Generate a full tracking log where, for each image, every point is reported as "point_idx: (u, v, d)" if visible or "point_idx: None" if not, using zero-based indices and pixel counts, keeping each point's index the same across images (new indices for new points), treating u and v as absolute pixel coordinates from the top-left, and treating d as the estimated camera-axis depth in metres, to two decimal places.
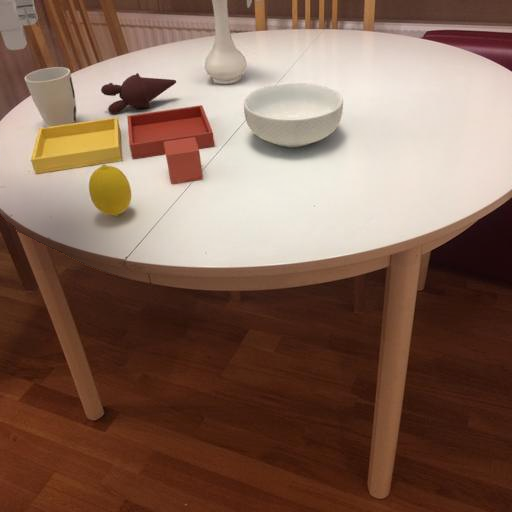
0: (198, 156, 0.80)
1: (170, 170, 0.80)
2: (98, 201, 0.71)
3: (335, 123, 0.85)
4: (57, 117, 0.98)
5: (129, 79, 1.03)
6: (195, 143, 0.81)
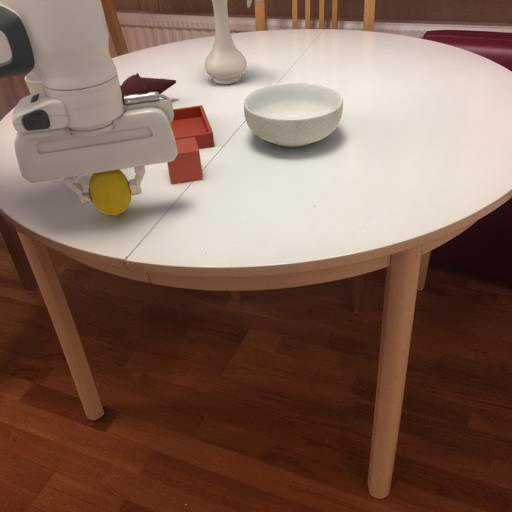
0: (198, 156, 0.80)
1: (170, 170, 0.80)
2: (98, 201, 0.71)
3: (335, 123, 0.85)
4: None
5: (129, 79, 1.03)
6: (195, 143, 0.81)
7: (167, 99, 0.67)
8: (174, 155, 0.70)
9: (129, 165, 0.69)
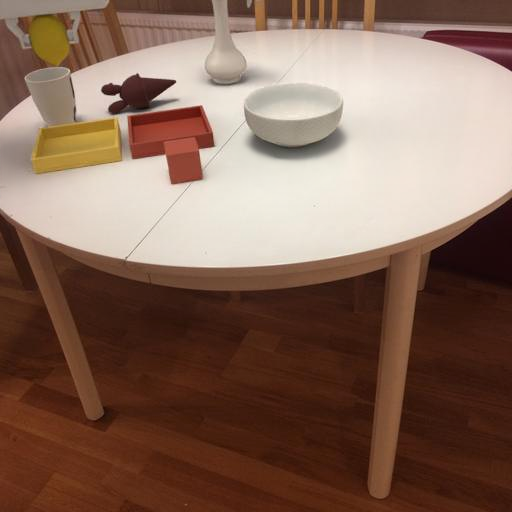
0: (198, 156, 0.80)
1: (170, 170, 0.80)
2: (37, 44, 0.78)
3: (335, 123, 0.85)
4: (57, 117, 0.98)
5: (129, 79, 1.03)
6: (195, 143, 0.81)
7: None
8: (105, 1, 0.77)
9: (64, 8, 0.76)
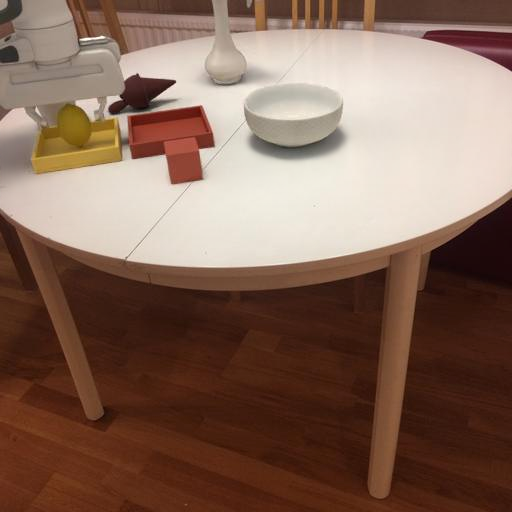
0: (198, 156, 0.80)
1: (170, 170, 0.80)
2: (64, 132, 0.88)
3: (335, 123, 0.85)
4: None
5: (129, 79, 1.03)
6: (195, 143, 0.81)
7: (114, 42, 0.84)
8: (122, 89, 0.87)
9: (85, 96, 0.86)
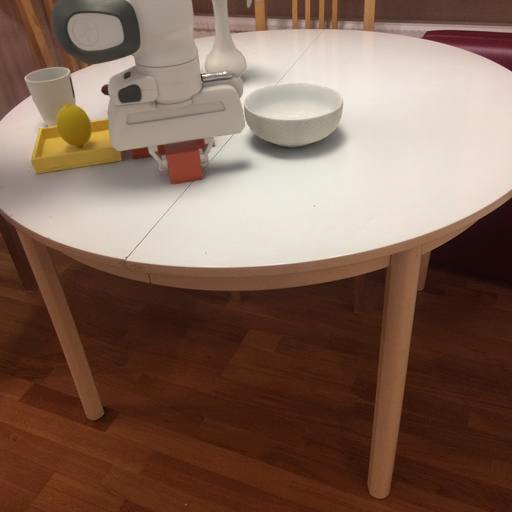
0: (198, 156, 0.80)
1: (170, 170, 0.80)
2: (64, 132, 0.88)
3: (335, 123, 0.85)
4: None
5: None
6: (196, 143, 0.81)
7: (238, 77, 0.76)
8: (242, 127, 0.79)
9: (203, 136, 0.79)
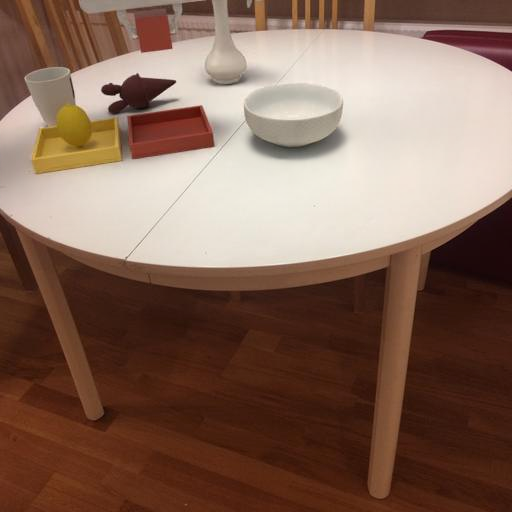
0: (167, 22, 0.81)
1: (139, 37, 0.81)
2: (64, 132, 0.88)
3: (335, 123, 0.85)
4: None
5: (129, 79, 1.03)
6: (165, 11, 0.82)
7: None
8: None
9: (171, 0, 0.80)
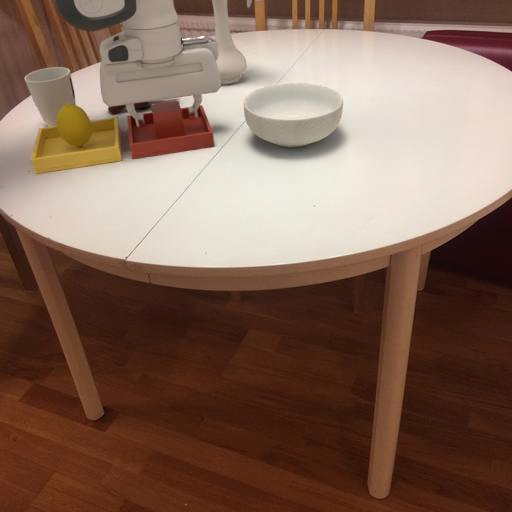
0: (181, 116, 0.91)
1: (156, 128, 0.91)
2: (64, 132, 0.88)
3: (335, 123, 0.85)
4: None
5: None
6: (179, 105, 0.92)
7: (214, 41, 0.87)
8: (218, 87, 0.90)
9: (183, 94, 0.90)
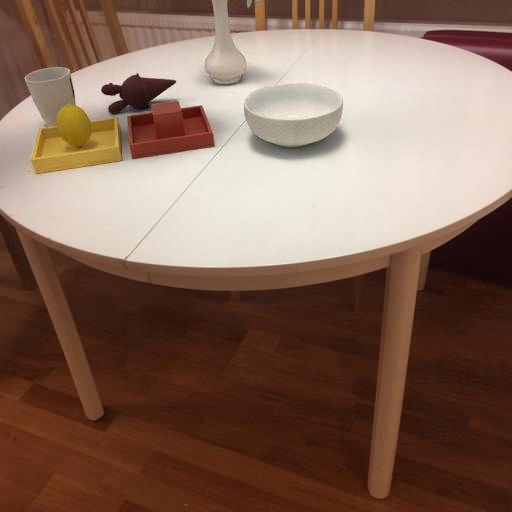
0: (181, 116, 0.91)
1: (156, 128, 0.91)
2: (64, 132, 0.88)
3: (335, 123, 0.85)
4: None
5: (129, 79, 1.03)
6: (179, 105, 0.92)
7: None
8: None
9: None
